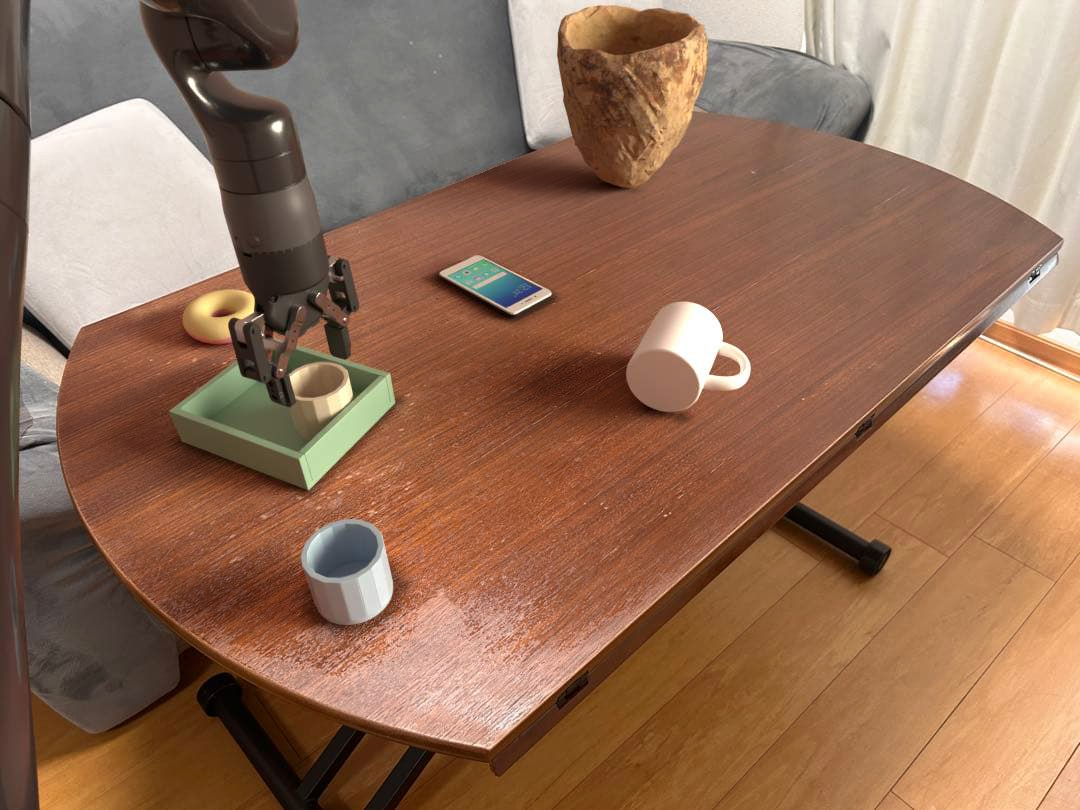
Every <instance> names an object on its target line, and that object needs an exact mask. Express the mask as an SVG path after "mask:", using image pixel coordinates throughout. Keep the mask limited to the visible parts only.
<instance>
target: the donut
mask: <svg viewBox="0 0 1080 810" xmlns="http://www.w3.org/2000/svg"><path fill="white" fill-rule="evenodd" d="M252 313H254V296H253V294H252V293H251V292H248V291H244V290H241V289H218V290H214V291H210V292H207V293H204V294H202V295H200V296H198V297H196V298H194V299H193V300H192V301H191V302H190V303H188V304H187V306H186V307H185V309H184V311H183V313H182V325H183V327H184V330H185V331H186V332H187V334H188V335H189V336H190V337H191V338H193V339H194V340H197V341H199V342H202V343H206V344H212V345H226V344H231V343H232V339H231V336H230V332H229V328H228V323H229V321H230V319H231V318H234V317H235V318H238V319H244V318H245V317H247V316H249V315H250V314H252ZM232 344H233V343H232Z"/></svg>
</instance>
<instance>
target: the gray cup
mask: <svg viewBox="0 0 1080 810" xmlns="http://www.w3.org/2000/svg"><path fill="white" fill-rule="evenodd" d="M300 562H301V568H302V571H303V574H304V576H305V579H306V582H307V585H308V589H309V591H310V595H311V597H312V600H313V603H314V605H315V607H316V610H317V611H318V613H319V614H320V615H321V616H322V617H323V619H325V620H327V621H328V622H330V623H333V624H335V625H341V626H354V625H358V624H363V623H365V622H367V621H369V620H371V619H374V618H376V616H378V615H379V614H380V613H382V611H384V610H385V608H386V607H387V606H388V604H389V603H390V602H391V599H392V597H393V593H394V581H393V576H392V571H391V568H390V563H389V559H388V554H387V549H386V545H385V541H384V537H383V533H382V532H381V530H379V529H378V527H376V526H375V525H374V524H373V523H371V522H367V521H365V520H363V519H355V518H354V519H353V518H351V519H350V518H344V519H340V520H336V521H332V522H329V523H327V524H325V525H323V526H322V527H321V528H319V529H316V530H315V531H314V532H313V533H312V534H311V536H310V537H308V539H307V540H306V541H305V542H304V545H303V547H302V549H301V553H300Z"/></svg>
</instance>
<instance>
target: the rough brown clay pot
mask: <svg viewBox="0 0 1080 810" xmlns="http://www.w3.org/2000/svg"><path fill="white" fill-rule="evenodd" d="M556 48H557V49H556V57H557V64H558V71H559V76H560V82H561V86H562V92H563V93H562V94H563V96H562V103H563V106H564V109H565V113H566V117H567V120H568V121H567V122H568V126H569V129H570V133H571V137H572V138H573V140H574V145H575V146H576V147H577V149H578V151H579V152H580V154H581V157H582V159H583V161H584V163H585V164H586V165H587V166H588V167H589V168H590V169H591V171H592V172H593V173H594V174H595V175H596V176H597V177H598V178H599V180H601V181H603V182H605V183H609V184H611V185H613V186H617V187H619V188H622V189H625V188H626V189H628V188H631V189H633V188H635V187H639V186H640V185H642V184H644V183H646V182H648V181H649V179H650V178H651V177H652V176H653V174H654V173H655V172H657V171H658V170H659V169H660V168H661V167H662V166H663V165H664V163H665V161H666V159H667V158H669V156H670V154H671V153H672V152H673V150H674V149H676V148H677V147H678V145H679V144H680V142H681V141H682V139H683V138H684V136H685V134H686V132H687V130H688V128H689V125H690V123H691V121H692V120H693V110H694V106H695V105H696V102H697V99H698V98H699V95H700V92H701V89H702V87H703V84H704V82H705V80H706V74H707V67H708V66H707V65H708V57H709V38H708V35H707V32H706V27H705V24H702V23H700V22H699V21H698V20H697V19H696V18H695V17H694V16H692V15H691V14H690V13H688V12H687V13H685V12H681V11H675V10H670V9H665V8H661V7H655V8H647V9H643V10H640V9H637V8H632V7H628V6H623V5H618V4H617V5H615V4H614V5H602V4H599V5H593V6H587V7H584V8H582V9H580V10H578V11H575V12H572V13H569V14H566V15H564V17H563V18H562V19H561V20H560V23H559V26H558V31H557V47H556Z"/></svg>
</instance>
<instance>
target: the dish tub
mask: <svg viewBox="0 0 1080 810" xmlns="http://www.w3.org/2000/svg"><path fill="white" fill-rule="evenodd" d="M273 339H274V340H275V341H278V342H281V343H282V342H283V341H284V340H283V339H279V338H276V337H273ZM276 355H277V352H276V351H275V350H273V354H272V358H271V362H274V363H275V359H276ZM315 362H333V363H336V364H339V365H341V366H343V367H344V368H345V369H346V370H347V371H348V375H349V379H350V384H351V388H352V393H353V397H354V400H353V401H352V402H351V403H350V404H349V405H348V406H347V407H346V408H345V409H344V410H343V411H342V412H340V413H339V414H338V415H337V416H336V417H335V418H334V419H333V420H332V421H331V422H330V423H329V424H328V425H327V426H326V427H325V428H323V429H322V430H321V431H320V432H319V433H318V434H317V435H316V436H315V437H314V438H313V439H312V440H311V441H307V440H304V439H303V438H301V437H300V436H299V435H298V434H297V432H296V429H295V428H294V424H293V421H292V417H291V414H290V411H289V407H286V406H283V405H280V404H278V403H275V402H272V400H271V399H270V397H269V394H268V390H267V388H266V384H264V383H261V382H259V381H256V380H253V379H250V378H245V377H243V376H241V373H240V369H239V366H238V362H237V359H236V360H235V361H234V362H233V363H231V364H230V365H228V366H227V367H226V368H224V369H223V370H221V371H220V372H219V373H217V374H216V375H215V376H214V377H212V378H211V379H209V380H208V381H207V382H206V383H204V384H203V385H201V386H200V387H199V388H197V389H196V390H195V391H194V392H192V393H190V394H189V395H188V396H187V397H185V398H184V399H183V400H182V401H180V402H179V403H177V404H176V405H174V407H172V408H170V410H168V413H169V416H170V417H171V420H172V423H173V425H174V427H175V430H176V432H177V434H178V436H179V439H180V441H181V442H182V443H184V444H187V445H190V446H192V447H195V448H197V449H200V450H203V451H205V452H207V453H211V454H213V455H216V456H218V457H221V458H222V459H227V460H229V461H231V462H233V463H237V464H239V465H242V466H244V467H246V468H249V469H252V470H254V471H257V472H259V473H263V474H265V475H267V476H270V477H272V478H275V479H278V480H280V481H282V482H286V483H287V484H290V485H294V486H295V487H299V488H301V489H304V490H305V491H310V490H311V489H312V488H313V487H314V486H315V485H316V484H317V483H318V482H319V481H320V480H321V479H322V478H323V477H324V476H325V475H326V473H328V471H330V470H331V469H332V468H333V466H335V465H336V464H337V463H338V461H339V460H341V459H342V458H343V457H344V456H345V454H346V453H347V452H348V451H349V450H350V449H351V448H352V447H353V446H355V444H357V442H359V440H360V439H361V438H362V437H363V436H364V435H365V434H366V433H367V432H368V431H370V430H371V428H372V427H373V426H374V425H375V424H376V423H378V421H379V420H380V419H381V418H382V417H383V416H385V414H386V413H387V412H388V411H389V410H390V409H391V408H392V407H393V406H394V405H395V404H396V399H395V394H394V389H393V388H394V387H393V383H392V377H391V373H390V372H387V371H385V370H381V369H377V368H374V367H370V366H367V365H364V364H362V363H361V364H360V363H358V362H354V361H352V360H347V359H346V360H344V359H340V358H337V357H334V356H332V355H331V354H328V353H325V352H321V351H318V350H316V349H312V348H309V347H305V346H302V345H299V344H297V346H296V350H295V352H294V353H293V354H291V355H290V357H289V361H288V365H287V369H286V373H289V374H290V373H291V372H293V371H294V370H295V369H297V368H299V367H301V366H304V365H306V364H310V363H315Z"/></svg>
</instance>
